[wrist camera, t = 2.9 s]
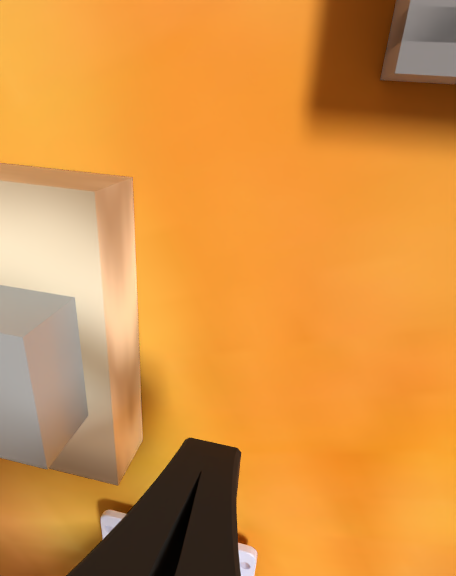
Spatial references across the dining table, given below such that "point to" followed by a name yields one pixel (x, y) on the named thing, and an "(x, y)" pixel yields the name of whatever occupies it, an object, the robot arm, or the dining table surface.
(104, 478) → the board
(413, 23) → the gray open frame
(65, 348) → the tile slate
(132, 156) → the dining table surface
